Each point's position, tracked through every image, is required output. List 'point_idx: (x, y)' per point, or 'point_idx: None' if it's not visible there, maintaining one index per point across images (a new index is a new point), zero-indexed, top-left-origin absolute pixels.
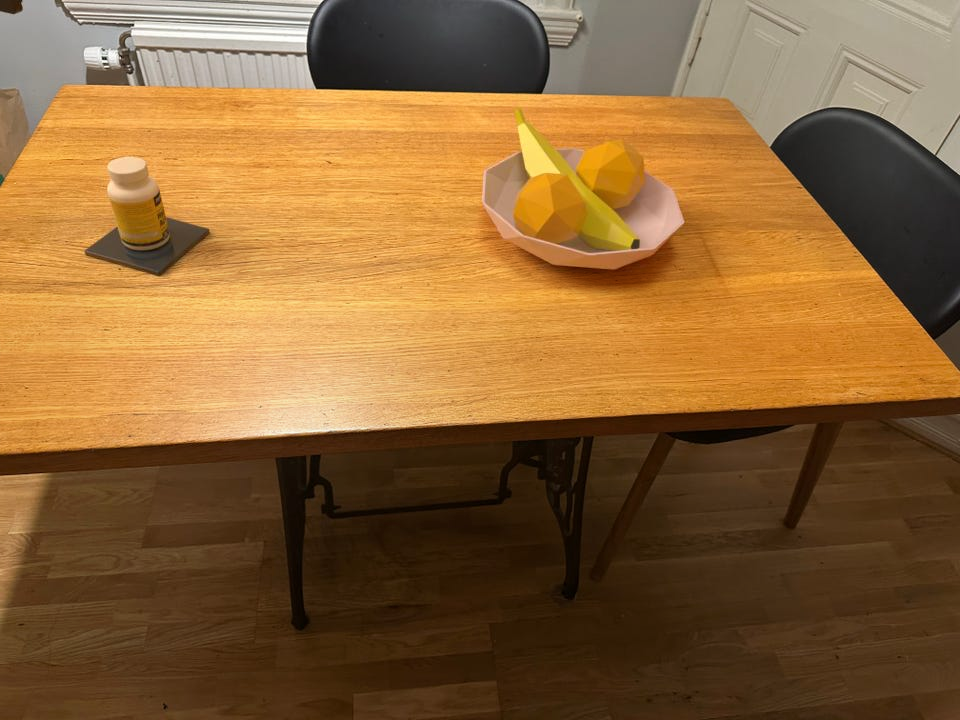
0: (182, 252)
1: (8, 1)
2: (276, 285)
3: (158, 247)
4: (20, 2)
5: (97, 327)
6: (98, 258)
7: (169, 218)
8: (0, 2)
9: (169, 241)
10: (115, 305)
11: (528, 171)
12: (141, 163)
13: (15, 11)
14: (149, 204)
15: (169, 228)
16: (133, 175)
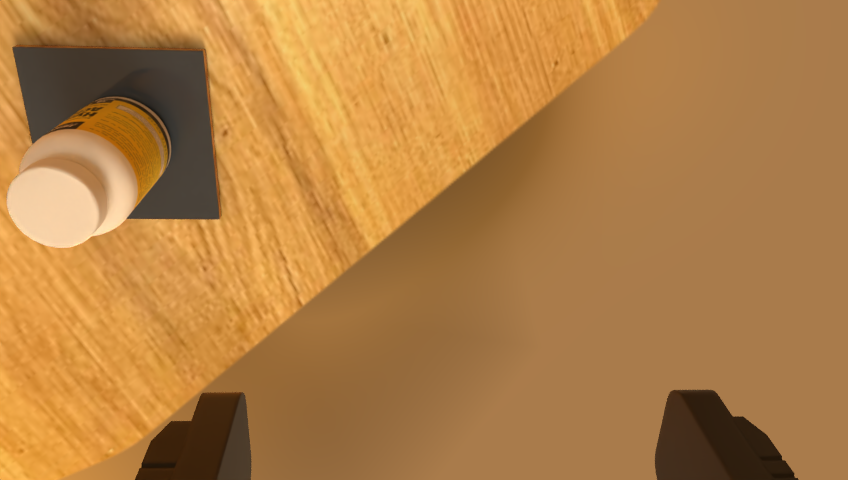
0: (119, 48)
1: (236, 437)
2: None
3: None
4: (200, 407)
5: (386, 59)
6: (218, 188)
7: None
8: (241, 465)
9: (103, 95)
10: (320, 70)
11: None
12: (25, 184)
13: (240, 396)
14: (94, 128)
15: None
16: (75, 172)
